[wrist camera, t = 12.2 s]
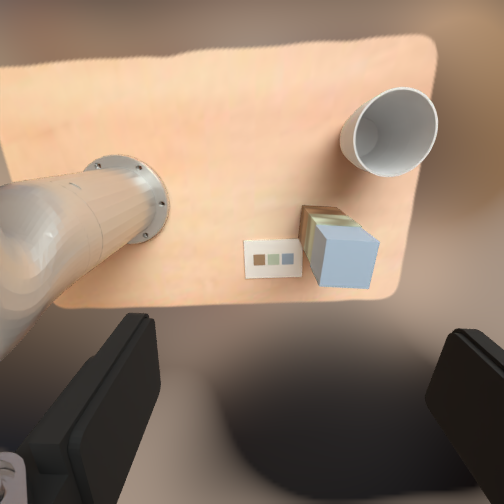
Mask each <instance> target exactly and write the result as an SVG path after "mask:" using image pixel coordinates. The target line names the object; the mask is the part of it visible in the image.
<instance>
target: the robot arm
mask: <svg viewBox="0 0 504 504" xmlns="http://www.w3.org/2000/svg"><path fill="white" fill-rule="evenodd" d="M100 165H101V167H100ZM140 166H141V167H142V169H140ZM162 202H164V203H165V205H163V204H162ZM168 213H169V199H168V194H167V191H166V188H165V186H164V184H163V182H162V181H161V179H160V177H159V176H158V175H157V174H156V173H155V171H154V170H153V169H152V168H150V167H149V166H148V165H147V164H145V163H144V162H142V161H140V160H138V159H136V158H133V157H130V156H125V155H109V156H103V157H101V158H98V159H96V160H94V161H93V162H92V163H90V164H89V165H88V166H87V167H86V168H85V170H84V171H83V172H78V173H71V174H65V175H58V176H51V177H45V178H38V179H31V180H24V181H18V182H13V183H9V184H6V185H3V186H0V361H1V360H2V359H3V358H5V357H6V356H7V354H9V353H10V352H11V351H12V350H13V349H14V348H15V347H16V346H17V345H18V344H19V342H20V341H21V340H22V339H23V338H24V337H25V335H26V334H27V333H28V332H29V331H30V329H31V328H32V327H33V326H34V324H35V323H36V322H37V321H38V319H39V318H40V317H41V315H42V314H43V313H44V312H45V310H46V309H47V308H48V307H49V306H50V305H51V303H52V302H53V301H54V300H55V299H56V298H57V297H58V296H59V295H61V294H62V293H63V292H64V291H65V290H66V289H67V288H69V287H70V286H71V285H72V284H74V283H75V282H76V281H77V280H79V279H80V278H81V277H83V276H84V275H85V274H86V273H88V272H89V271H91V270H92V269H93V268H95V267H96V266H97V265H99V264H100V263H101V262H103V261H104V260H105V259H107V258H108V257H109V256H111V255H112V254H113V253H115V252H116V251H117V250H118V249H120V248H121V247H122V246H124V245H125V244H137V243H141V242H145V241H147V240H149V239H151V238H152V237H153V236H155V235H156V234H157V233H158V232H159V231H160V230H161V229H162V227H163V226H164V225H165V222H166V220H167V218H168ZM146 233H147V234H148V235H147V234H146ZM160 385H161V381H160V370H159V360H158V350H157V340H156V330H155V321H154V319H151V318H149V315H148V314H144V313H128V314H127V315H126V316H125V317H124V318H123V320H122V321H121V322H120V324H119V325H118V326H117V327H116V329H115V330H114V331H113V333H112V334H111V335H110V337H109V338H108V339H107V341H106V342H105V343H104V345H103V346H102V347H101V348H100V350H99V351H98V352H97V354H96V355H95V356H92V357H90V358H89V359H88V360H87V361H86V362H85V364H84V365H83V366H82V368H81V369H80V370H79V371H78V373H77V374H76V375H75V376H74V378H73V379H72V380H71V382H70V383H69V384H68V385H67V387H66V388H65V389H64V390H63V392H62V393H61V394H60V396H59V397H58V398H57V399H56V401H55V402H54V403H53V405H52V406H51V407H50V408H49V410H48V411H47V412H46V413H45V415H44V416H43V417H42V418H41V420H40V421H39V422H38V424H37V425H36V426H35V427H34V429H33V430H32V431H31V432H30V434H29V435H28V437H27V438H26V439H25V440H24V442H23V443H22V444H21V445H20V447H19V448H18V449H17V451H16V452H15V453H10V452H1V453H0V504H117V501H118V498H119V496H120V493H121V491H122V488H123V486H124V483H125V481H126V478H127V475H128V473H129V470H130V468H131V465H132V462H133V460H134V457H135V455H136V452H137V450H138V447H139V444H140V441H141V439H142V437H143V434H144V431H145V429H146V426H147V424H148V421H149V419H150V416H151V413H152V411H153V408H154V406H155V403H156V401H157V398H158V395H159V392H160ZM425 401H426V404H427V407H428V409H429V410H430V412H431V413H432V415H433V416H434V418H435V419H436V421H437V422H438V424H439V425H440V427H441V428H442V430H443V431H444V433H445V434H446V436H447V437H448V439H449V441H450V442H451V444H452V445H453V446H454V448H455V450H456V451H457V453H458V454H459V455H460V457H461V459H462V460H463V462H464V463H465V465H466V466H467V468H468V469H469V471H470V472H471V474H472V475H473V477H474V478H475V480H476V482H477V483H478V485H479V486H480V488H481V489H482V490H483V492H484V494H485V495H486V497H487V498H488V500H489V501H490V503H491V504H504V350H503V349H502V348H501V347H500V346H498V345H497V344H496V343H495V342H493V341H492V340H491V339H490V338H489V337H487V336H486V335H485V334H484V333H483V332H481V331H479V330H476V329H460V328H458V329H455V330H454V331H453V332H452V333H450V334H449V335H448V337H447V339H446V341H445V344H444V347H443V350H442V352H441V355H440V357H439V360H438V363H437V366H436V368H435V370H434V373H433V376H432V378H431V381H430V384H429V386H428V389H427V392H426V395H425Z"/></svg>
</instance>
